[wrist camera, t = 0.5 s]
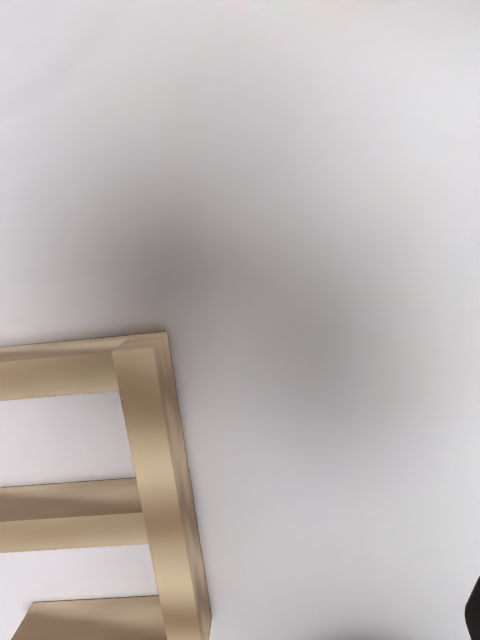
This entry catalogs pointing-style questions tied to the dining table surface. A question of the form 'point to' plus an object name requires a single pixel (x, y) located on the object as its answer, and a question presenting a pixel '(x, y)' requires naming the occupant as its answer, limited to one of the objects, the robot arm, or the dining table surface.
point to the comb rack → (112, 492)
